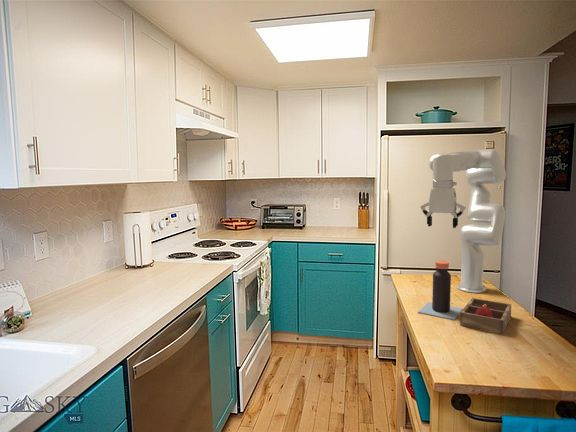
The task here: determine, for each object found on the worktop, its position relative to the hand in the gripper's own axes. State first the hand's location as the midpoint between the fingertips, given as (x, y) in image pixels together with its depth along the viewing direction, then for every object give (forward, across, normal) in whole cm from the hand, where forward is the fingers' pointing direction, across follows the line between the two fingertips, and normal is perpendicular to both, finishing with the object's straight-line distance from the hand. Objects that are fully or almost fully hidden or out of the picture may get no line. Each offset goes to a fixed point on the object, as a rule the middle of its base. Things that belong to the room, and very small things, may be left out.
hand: (442, 226), depth 155 cm
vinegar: (+34, -1, +4) cm, 34 cm away
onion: (+35, -18, +10) cm, 40 cm away
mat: (+34, -1, +4) cm, 35 cm away
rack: (+35, -18, +6) cm, 39 cm away
